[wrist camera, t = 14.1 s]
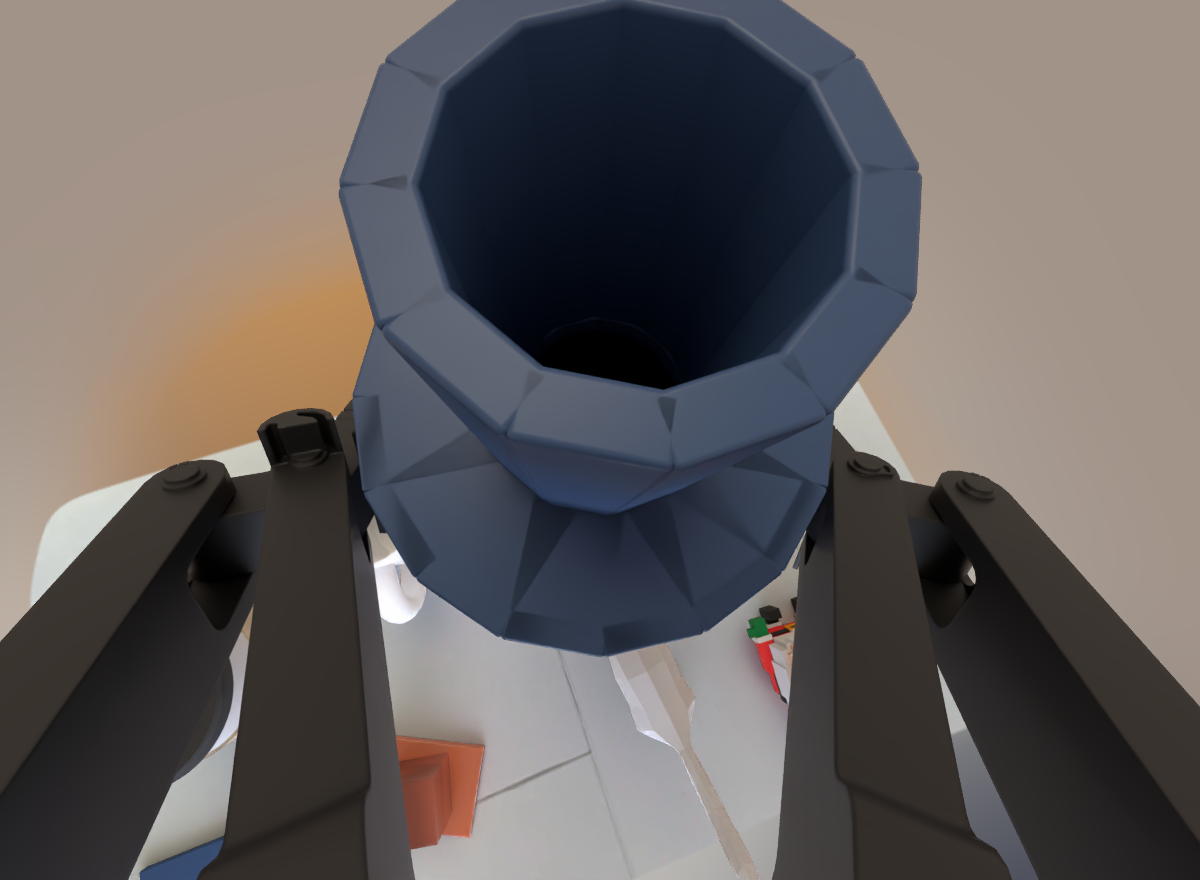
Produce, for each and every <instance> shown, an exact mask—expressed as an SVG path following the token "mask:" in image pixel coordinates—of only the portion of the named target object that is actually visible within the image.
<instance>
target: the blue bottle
mask: <svg viewBox="0 0 1200 880" xmlns="http://www.w3.org/2000/svg"><path fill="white" fill-rule="evenodd" d="M855 56H856V55H855V53H854V51H853V50H851V49H850V48H848V47H847V46H846V45H844V44H843V43H841V42H840V41H839V40H837V39H836V38H834V37H833V36H831V35H830V34H829V33H827V32H826V31H824V30H823V29H822V28H820V27H819V26H817V25H816V24H814V23H813V22H812V21H810V20H809V19H807V18H806V17H805V16H803V15H802V14H800V13H799V12H797V11H796V10H794V9H793V8H792V7H790V6H789V5H787V4H786V3H785V2H783V1H782V0H456V1H455V2H454V3H453V4H451V5H450V6H449V7H448V8H446V9H445V10H444V11H443V12H441V13H440V14H439V15H438V16H437V17H435V18H434V19H433V20H431V21H430V22H429V23H428V24H426V25H425V26H424V27H422V28H421V29H420V30H419V31H417V32H416V33H415V34H414V35H412V36H411V37H410V38H409V39H407V40H406V41H405V42H404V43H402V44H401V45H400V46H399V47H397V48H396V49H395V50H394V51H392V52H391V53H390V54H389V55H388V56H387V57H386V59H385V63H382V64H381V65H380V66H379V68H378V71H377V74H376V77H375V80H374V83H373V86H372V88H371V91H370V94H369V97H368V100H367V103H366V106H365V108H364V111H363V114H362V117H361V120H360V123H359V125H358V128H357V131H356V134H355V137H354V140H353V143H352V145H351V149H350V151H349V154H348V157H347V160H346V163H345V165H344V168H343V171H342V174H341V177H340V189H339V199H340V203H341V206H342V210H343V213H344V217H345V220H346V224H347V227H348V231H349V234H350V238H351V241H352V245H353V248H354V252H355V255H356V259H357V263H358V266H359V270H360V273H361V277H362V280H363V284H364V287H365V291H366V294H367V298H368V301H369V305H370V308H371V312H372V315H373V319H374V322H375V324H374V327H373V330H372V333H371V337H370V340H369V343H368V346H367V350H366V353H365V356H364V359H363V363H362V366H361V369H360V373H359V376H358V379H357V382H356V385H355V389H354V392H353V399H352V406H353V415H354V423H355V432H356V440H357V449H358V457H359V466H360V475H361V483H362V490H363V492H365V493H364V495H365V498H366V499H367V501H368V503H369V504H370V506H371V508H372V509H373V511H374V513H375V514H376V516H377V518H378V519H379V521H380V523H381V524H382V526H383V528H384V529H385V531H386V533H387V534H388V536H389V538H390V539H391V541H392V543H393V544H394V546H395V548H396V549H397V551H398V553H399V554H400V556H401V558H402V559H403V561H404V563H405V564H406V566H407V568H408V569H409V571H410V573H411V574H412V576H413V577H415V578H417V581H418V582H419V583H420V584H422V585H423V586H425V587H426V588H428V589H429V590H430V591H432V592H433V593H435V594H436V595H438V596H439V597H441V598H442V599H443V600H445V601H446V602H448V603H449V604H451V605H452V606H454V607H455V608H456V609H458V610H459V611H461V612H462V613H464V614H465V615H467V616H468V617H470V618H471V619H472V620H474V621H475V622H477V623H478V624H480V625H481V626H483V627H484V628H485V629H487V630H488V631H490V632H491V633H493V634H494V635H496V636H497V637H502V638H503V639H504V640H509V641H515V642H520V643H526V644H531V645H536V646H542V647H547V648H553V649H558V650H563V651H569V652H574V653H580V654H585V655H590V656H596V657H603V656H605V657H610V656H614V655H618V654H622V653H627V652H631V651H635V650H639V649H643V648H647V647H651V646H655V645H660V644H664V643H668V642H672V641H676V640H680V639H684V638H689V637H693V636H697V635H701V634H702V633H703V631H704V632H707V631H709V630H710V629H711V628H712V627H714V626H715V625H716V624H718V623H719V622H720V621H721V620H723V619H724V618H725V617H727V616H728V615H729V614H731V613H732V612H733V611H734V610H736V609H737V608H738V607H740V606H741V605H742V604H743V603H745V602H746V601H747V600H749V599H750V598H751V597H752V596H754V595H755V594H756V593H758V592H759V591H760V590H761V589H763V588H764V587H765V586H767V585H768V584H769V583H771V582H772V581H773V580H774V579H776V578H777V577H778V576H780V575H781V573H782V572H781V571H783V570H785V568H786V566H787V564H788V562H789V561H790V559H791V557H792V555H793V553H794V551H795V549H796V547H797V546H798V544H799V542H800V540H801V538H802V536H803V534H804V533H805V531H806V529H807V527H808V525H809V523H810V521H811V519H812V518H813V516H814V514H815V512H816V510H817V508H818V506H819V505H820V503H821V501H822V499H823V497H824V495H825V493H826V488H827V487H828V480H829V468H830V456H831V444H832V432H833V420H834V411H835V409H836V408H837V407H838V405H839V404H840V403H841V402H842V400H843V399H844V398H845V396H846V395H847V394H848V392H849V391H850V390H851V388H852V387H853V386H854V385H855V383H856V382H857V381H858V379H859V378H860V377H861V375H862V374H863V373H864V371H865V370H866V369H867V368H868V366H869V365H870V364H871V362H872V361H873V360H874V358H875V357H876V356H877V354H878V353H879V352H880V351H881V349H882V348H883V347H884V345H885V344H886V343H887V341H888V340H889V339H890V337H891V336H892V335H893V333H894V332H895V331H896V329H897V328H898V327H899V326H900V324H901V323H902V321H903V320H904V319H905V318H906V316H907V315H908V314H909V312H910V310H911V308H912V302H913V300H914V299H915V296H916V294H917V273H918V253H919V231H920V210H921V188H922V176H921V174H920V173H919V172H918V170H919V163H918V161H917V159H916V158H915V156H914V154H913V153H912V151H911V148H910V147H909V145H908V143H907V141H906V139H905V138H904V136H903V134H902V132H901V130H900V128H899V127H898V125H897V123H896V121H895V119H894V117H893V116H892V114H891V112H890V110H889V108H888V107H887V105H886V103H885V101H884V99H883V97H882V95H881V94H880V92H879V90H878V88H877V86H876V84H875V83H874V81H873V79H872V77H871V75H870V73H869V72H868V70H867V68H866V66H865V64H864V62H863V61H862V60H860V59H857V58H855Z"/></svg>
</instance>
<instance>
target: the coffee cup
mask: <svg viewBox="0 0 1200 880" xmlns="http://www.w3.org/2000/svg"><path fill="white" fill-rule="evenodd" d="M253 606H254V605H253ZM252 614H253V607H252V609H251V611H250V613H249V615H248V618H247V620H246V622H245V624H244V626H243V629H242V631H241V633H240V635H239V637H238V639H237V642H236V644H235V646H234V648H233V650H232V653H231V655H230V657H229V659H228V661H227V664H226V666H225V668H224V670H223V672H222V675H221V677H220V679H219V681H218V683H217V686H216V688H215V690H214V692H213V694H212V697H211V699H210V701H209V703H208V705H207V707H206V710H205V712H204V714H203V716H202V718H201V721H200V723H199V725H198V727H197V729H196V732H195V734H194V736H193V738H192V740H191V743H190V745H189V747H188V749H187V751H186V754H185V756H184V758H183V760H182V762H181V765H180V767H179V769H178V771H177V773H176V776H175V778H174V780H173V782H175V781H176V780H178V779H180V778H181V777H183V776H184V775H186V774H187V773H188V772H190V771H191V770H192V769H193V768H194V767H195V766H197V765H198V764H199V763H200V762H201V761H202V760H203V759H205V758H207V757H209V756H211V755H212V754H214V753H215V752H217V751H218V750H220V749H221V748H223V747H224V746H225V745H227V744H228V743H229V742H231V741H232V740H234V739H235V738H236V737H237V733H238V725H239V717H240V709H241V701H242V693H243V685H244V677H245V669H246V662H247V654H248V646H249V638H250V630H251V622H252ZM173 782H172V783H173Z"/></svg>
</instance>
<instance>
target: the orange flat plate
mask: <svg viewBox="0 0 1200 880" xmlns="http://www.w3.org/2000/svg"><path fill="white" fill-rule="evenodd" d="M396 741H397V749H398V757H399V761H405V760H411V759H416V758H422V757H428V756H434V755H439V754H445V753H448V759H449V773H450V787H451V801H452V813H451V815H450V817H449V820H448V822H447V824H446V826H445V828H444V831H443V833H442V835H449V836H459V837H468V838H469V837H470V835H471V831H472V824H473V818H474V811H475V805H476V798H477V792H478V786H479V779H480V773H481V766H482V760H483V753H484V745H475V744H466V743H458V742H449V741H440V740H431V739H422V738H413V737H404V736H396Z"/></svg>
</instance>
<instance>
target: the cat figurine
mask: <svg viewBox="0 0 1200 880" xmlns="http://www.w3.org/2000/svg"><path fill="white" fill-rule="evenodd" d="M609 660H610V663H611V667H612V670H613V674H614V677H615V679H616V681H617V683H618V685H619V687H620V689H621V691H622V692H623V694H624V696H625V698H626V700H627V702H628V704H629V708H630V712H631V715H632V717H633V720H634V723H635V725H636V728H637V730H638V731H639V732H641V733H643V734H645V735H648V736H650V737H652V738H654V739H657V740H659V741H661V742H663V743H666V744H668V745H669V746H671V747H672V748H673V749H675V750H676V751H677V752H679V754H680V756H681V759H682V761H683V763H684V765H685V768H686V770H687V772H688V775H689V777H690V779H691V782H692V784H693V786H694V788H695V791H696V793H697V795H698V797H699V799H700V801H701V803H702V805H703V807H704V809H705V811H706V813H707V815H708V817H709V819H710V822H711V824H712V826H713V828H714V830H715V832H716V834H717V836H718V838H719V840H720V843H721V845H722V847H723V850H724V852H725V854H726V856H727V858H728V860H729V862H730V864H731V865H732V867H733V870H734V872H735V874H736V875H737V877H738V879H739V880H761V878H760V876H759V874H758V872H757V870H756V867H755V865H754V863H753V861H752V859H751V857H750V855H749V853H748V851H747V849H746V847H745V845H744V843H743V841H742V839H741V837H740V836H739V834H738V832H737V830H736V829H735V827H734V825H733V823H732V822H731V820H730V818H729V816H728V814H727V812H726V810H725V808H724V806H723V804H722V802H721V800H720V798H719V797H718V795H717V793H716V791H715V789H714V787H713V785H712V783H711V781H710V779H709V777H708V775H707V774H706V772H705V770H704V768H703V767H702V765H701V763H700V761H699V759H698V758H697V756H696V754H695V752H694V750H693V749H692V747H691V739H690V729H691V723H692V717H693V711H694V705H695V699H696V696H695V695H694V693H693V692H692V690H691V689H690V687H689V686H688V684H687V683H686V681H685V680H684V678H683V677H682V675H681V673H680V671H679V669H678V667H677V665H676V662H675V660H674V658H673V656H672V654H671V651H670V649H669V647H668V646H667V644H666V643H664V644H660V645H655V646H651V647H647V648H643V649H639V650H635V651H631V652H627V653H622V654H618V655H614V656H610V657H609Z"/></svg>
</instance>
